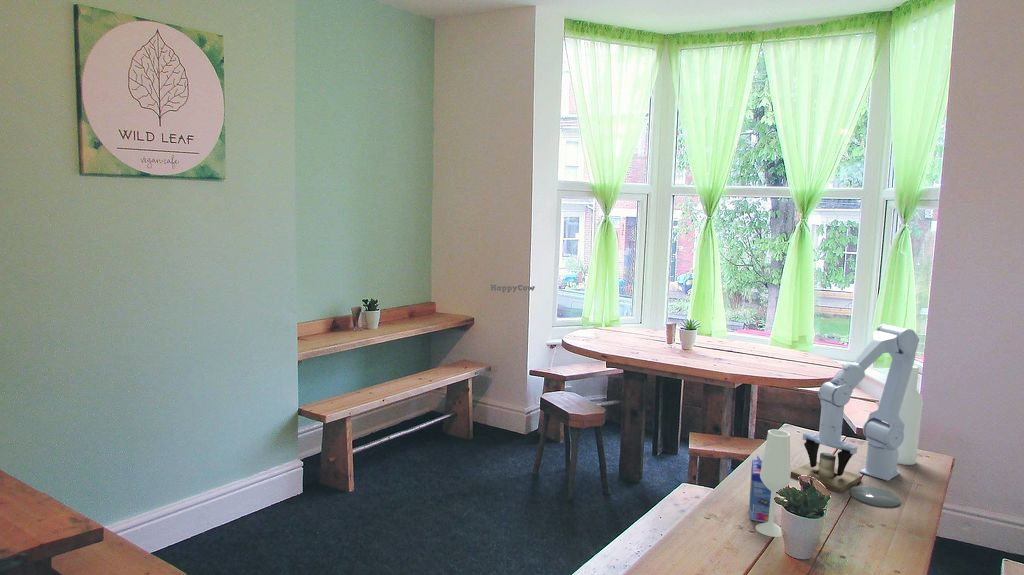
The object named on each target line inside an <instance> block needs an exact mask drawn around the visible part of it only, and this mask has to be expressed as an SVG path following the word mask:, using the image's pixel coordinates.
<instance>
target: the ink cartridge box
mask: <svg viewBox="0 0 1024 575" xmlns="http://www.w3.org/2000/svg"><path fill="white" fill-rule="evenodd" d="M756 456H757V457H756V458H757V459H752V462H751V470H750V485H749V486H750V488H749V511H748V512H749V516H748V517H749V520H750V521H755V522H761V523H765V522H768V520H769V509H770V498H771V491H770V490H769V489H768V488H767V487H766V486H765V485H764V484H763V482H762V480H761V478H760V472H761V467H762V461H763V460H761V459H760V456H759V455H756Z"/></svg>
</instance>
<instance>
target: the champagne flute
mask: <svg viewBox="0 0 1024 575" xmlns="http://www.w3.org/2000/svg"><path fill="white" fill-rule="evenodd" d="M761 461H762V467H761V472H760V478H761V480H762V482H763V484H764V485H765V486H766V487H767V488H768V489H769V490H770V491H771V498H770V509H769V520H768V522H761V523H759V524H756V525H755V530H756V531H757V532H758V533H760V534H762V535H764V536H767V537H774V538H781V537H782V536H781V528H782V527H780V526H779V525H778V524H776V523H775V512H776V502H775V500H774V498H775V497H776V498H777V493H776V492H778V491H779V490H780V489H782V490H784V489H785V488H786V487H788V485H789V484H790V482H791V477H790V475H791V434H790V432H787V431H785V430H782V429H769V430H767V436H766V441H765V447H764V452H763V458H762V460H761ZM783 488H784V489H783ZM780 491H781V490H780ZM780 491H779V492H780ZM779 492H778V493H779Z"/></svg>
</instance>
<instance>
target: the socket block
mask: <svg viewBox="0 0 1024 575" xmlns="http://www.w3.org/2000/svg"><path fill="white" fill-rule="evenodd" d="M819 462H820V461H817V463H816V466H815V467H811V466H810V462H808V463H805V464H804V465H802V466H799V467H798V468H795V469H793V470H790V478H794V479H796V478H797V480H799V479H798V477H799V476H801V475H807V476H811V477H814V478H816V479H817V480H818V481H820V482H821V483H822V484H823V485H824V486H825V487H826V488H827V489H826V488H825V489H826V490H829V489H830V491H833V492H835V491H836V492H835V493H838V494H842V493H843V492H845V491H846V490H848V489H849V488H850V489H851V488H852V487H854V486H855V485H856V484H857V485H858V483H860V482H862V477H863V476H862V475H860V474H857V473H854V472H850V471H847V470H844V472H843V475H841V476H838V475H837V470H838V467H835V468H834V478H832V479H830V478H827V477H824V476H821V475H818V472H819Z"/></svg>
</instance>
